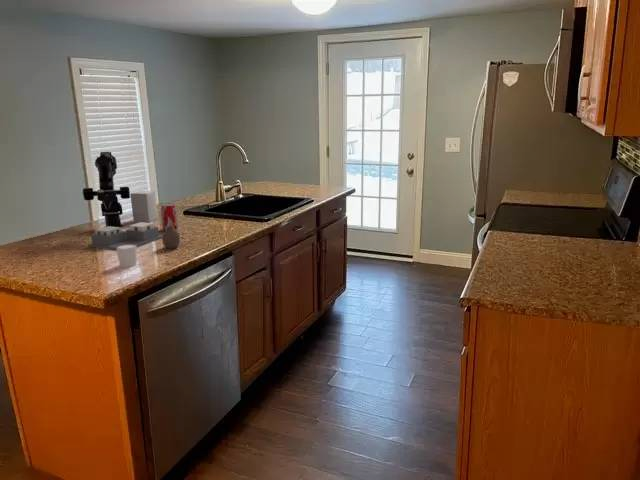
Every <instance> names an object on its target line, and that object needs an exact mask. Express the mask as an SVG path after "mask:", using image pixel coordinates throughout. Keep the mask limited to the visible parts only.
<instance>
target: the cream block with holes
mask: <svg viewBox="0 0 640 480" xmlns="http://www.w3.org/2000/svg"><path fill="white" fill-rule="evenodd" d="M128 227H129V229H130V230H134V231H146V230H149V229H152V228H154V227H155V225H154V222H150V223H145V222H140V223H138V222H135V223H133V224H131V225H130V224H129V226H128Z"/></svg>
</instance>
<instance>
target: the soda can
mask: <svg viewBox="0 0 640 480" xmlns="http://www.w3.org/2000/svg"><path fill="white" fill-rule="evenodd" d="M177 211H178V210H177V207H176V205H175V203H171V202H170V203H169V202H168V203H167V202H166V203H163V204H161V207H160V213H161V224H162V229H163V230H164V231H166V229H167V227H168V226H173V227H174V229H175V230H176V231H177V229H178V227H179V220H178V212H177Z"/></svg>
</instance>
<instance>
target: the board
mask: <svg viewBox="0 0 640 480" xmlns="http://www.w3.org/2000/svg"><path fill="white" fill-rule="evenodd" d="M90 236H91V242H90V243H88V244H87V247H88V246H89V247H88V248H95V247H97V248H98V249H103V248H104V250H111V251H112V250H113V251H117V249H116V248H117V247H118V246H121V245H136V248H139V247H141V246H144V245H147V244H150V243H152V242H155V241H157V240H160V239H161V240H162V237H163V234H159V227H158V226H154V228H152V229H149V230H146V231H134V230H130V228H128V229H126V230H121V232H120V233H116V234H113V235H110V236H105V235H96V232H95V233H93V234H91V235H90ZM97 248H96V249H97Z"/></svg>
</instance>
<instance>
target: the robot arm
mask: <svg viewBox="0 0 640 480" xmlns="http://www.w3.org/2000/svg"><path fill="white" fill-rule="evenodd" d="M94 165H95V168H96V169H97V171H98V181H99V183H98V184H99V186H98V187H99V189H97V190H94V187H84V188H83V189H82V195H83V200H84V201H93V200H94V199H95V197H97V201H99V202H101V203H100V208H101V216H102V217H104V221H105V226H104V227H107V226H111V227H121V228H122V227H124V225H123V224H122V223H121V222H122V221H121V218H120V216H121V215H123V205H122V204H121V202H119V199H118V196H120V199H125V200H126V199H127V200H128V199H131V195H130V193H131V192H130V187H129V186H119V189H115V183H114V176H115V175H116V174H117V169H118V165H117V159H116V157H115V156H113V154H112V152H111V151H101V152H100V155H99V156H97V157H96V159H95V160H94Z"/></svg>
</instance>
